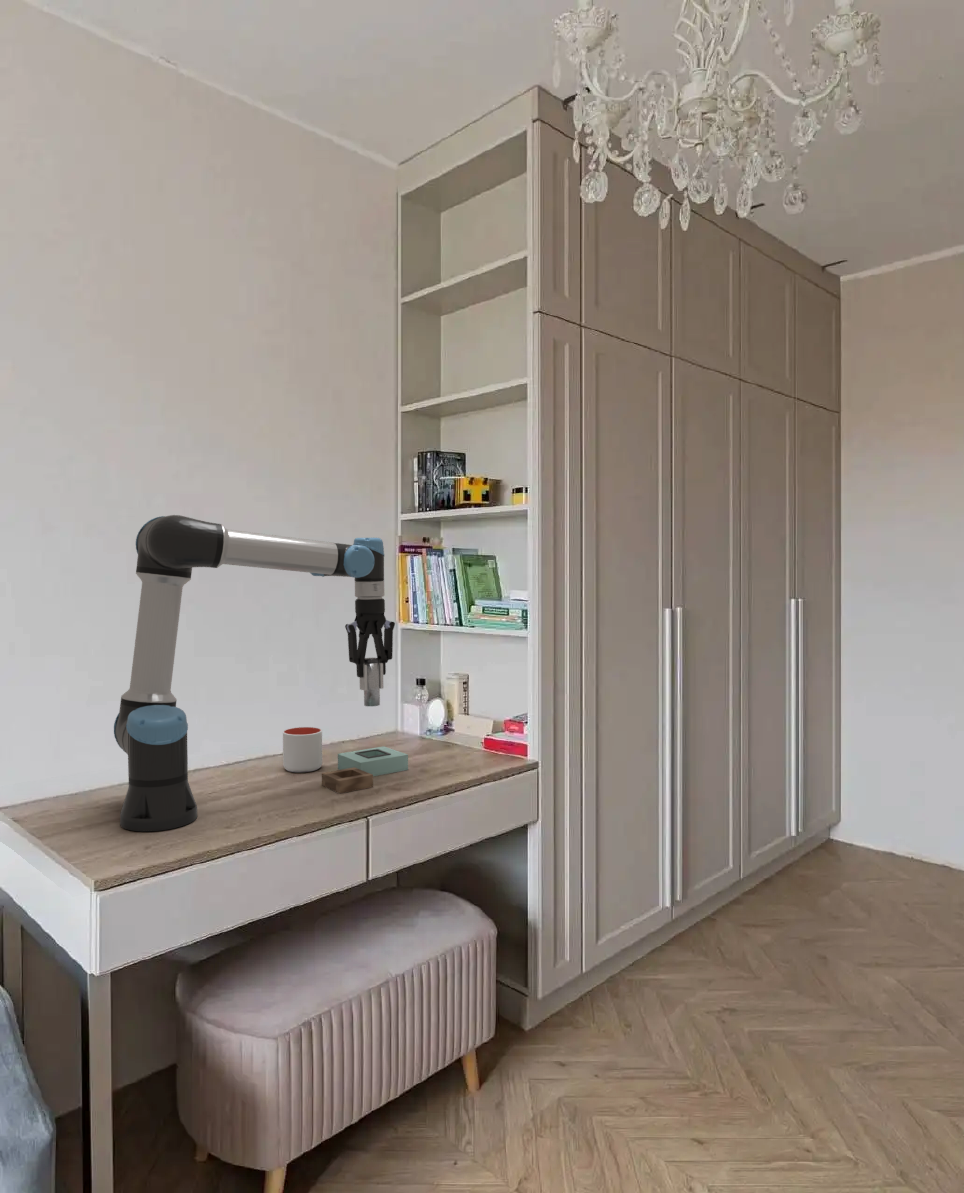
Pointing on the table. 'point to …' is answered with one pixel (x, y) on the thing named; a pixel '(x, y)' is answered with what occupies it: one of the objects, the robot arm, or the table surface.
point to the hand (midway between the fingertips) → (371, 688)
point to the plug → (372, 682)
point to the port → (374, 760)
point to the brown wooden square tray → (347, 780)
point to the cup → (302, 749)
